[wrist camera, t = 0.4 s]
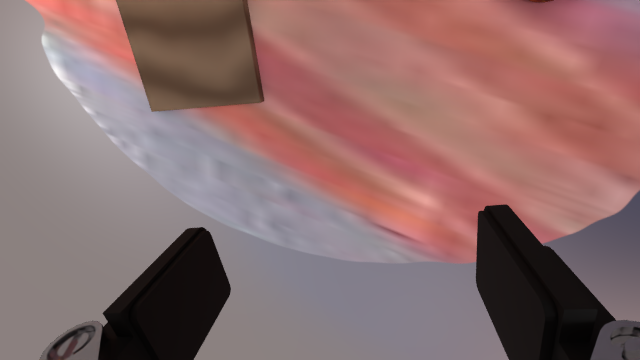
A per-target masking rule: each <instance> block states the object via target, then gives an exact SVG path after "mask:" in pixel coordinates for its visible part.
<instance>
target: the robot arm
mask: <svg viewBox="0 0 640 360" xmlns="http://www.w3.org/2000/svg"><path fill="white" fill-rule="evenodd" d="M476 283H477V288H478V291H479V293H480V295H481V298H482V300H483V302H484V304H485V306H486V309H487V311H488V313H489V316H490V318H491V320H492V322H493V325H494V327H495V329H496V331H497V334H498V336H499V338H500V340H501V343H502V345H503V347H504V350H505V352H506V354H507V356H508V358H509V360H640V322H636V321H628V320H619V321H616V320H615V318H614V317H613V316H612V315H611V314H610V313H609V312H608V311H607V310H606V309H605V307H604V306H603V305H602V304H601V303H600V302H599V301H598V300H597V298H596V297H595V296H594V295H593V294H592V293H591V292H590V291H589V289H588V288H587V287H586V286H585V285H584V284H583V283H582V282H581V281H580V279H579V278H578V277H577V276H576V275H575V274H574V273H573V272H572V271H571V269H570V268H569V267H568V266H567V265H566V264H565V263H564V262H563V260H562V259H561V258H560V257H559V256H558V255H557V254H556V253H555V252H554V250H552V249H551V248H550V247H548V246H543V245H542V244H541V243H540V242H539V241H538V239H537V238H536V237H535V236H534V235H533V234H532V232H531V231H530V230H529V229H528V228H527V227H526V226H525V224H524V223H523V222H522V221H521V220H520V219H519V217H518V216H517V215H516V214H515V213H514V212H513V211H512V209H511V208H510V207H509V206H508V205H493V206H486V207H485V209H484V211H479V213H478V232H477V262H476ZM230 290H231V288H230V284H229V281H228V278H227V276H226V273H225V271H224V268H223V265H222V263H221V260H220V257H219V254H218V252H217V249H216V247H215V244H214V242H213V239H212V236H211V234H210V232H209V231H206V229H205V228H203V227H200V228H189V229H187V230H185V231H184V232H183V234H181V235H180V236H179V237H178V238H177V239H176V240H175V241H174V242H173V243H172V244H171V245H170V246H169V247H168V248H167V249H166V250H165V251H164V252H163V253H162V254H161V255H160V256H159V257H158V258H157V259H156V260H155V261H154V262H153V263H152V264H151V265H150V266H149V267H148V268H147V269H146V270H145V271H144V272H143V273H142V274H141V275H140V276H139V277H138V278H137V279H136V280H135V281H134V282H133V283H132V284H131V285H130V286H129V287H128V288H127V290H125V291H124V292H123V293H122V294H121V295H120V297H118V298H117V299H116V300H115V302H114V303H112V304H111V305H110V306H109V308H107V309H106V311H104V312H103V315H104V316H105V318H106V319H107V321H108V323H107V324H106V325H105V326H104V327H103V325H102V324H101V323H100V322H98V321H89V322H85V323H82V324H79V325H77V326H75V327H73V328H71V329H69V330H67V331H66V332H65V333H63V334H62V335H60V336H59V337H57V338H56V339H55V340H54V341H53V342H52V343H50V345H49V346H48V347H47V348H46V349H45V351H44V352H43V353H42V355H41V357H40V360H194V358H195V356H196V354H197V352H198V350H199V349H200V347H201V345H202V344H203V342H204V340H205V338H206V336H207V335H208V333H209V331H210V329H211V327H212V326H213V324H214V322H215V320H216V319H217V317H218V315H219V313H220V311H221V310H222V308H223V306H224V304H225V302H226V301H227V299H228V297H229V295H230Z"/></svg>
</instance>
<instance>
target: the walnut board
mask: <svg viewBox="0 0 640 360" xmlns="http://www.w3.org/2000/svg"><path fill="white" fill-rule="evenodd" d="M116 2H117V5H118V8H119V11H120V14H121V17H122V20H123V23H124V27H125V30H126V33H127V36H128V39H129V42H130V45H131V48H132V51H133V55H134V58H135V61H136V64H137V67H138V70H139V73H140V76H141V79H142V83H143V86H144V89H145V92H146V95H147V98H148V101H149V104H150V108H151V111H152V112H153V111H165V110H177V109H189V108H201V107H213V106H225V105H237V104H249V103H260V102H262V101H264V97H263V91H262V85H261V79H260V73H259V68H258V62H257V56H256V50H255V44H254V38H253V33H252V27H251V21H250V15H249V9H248V3H247V0H116Z"/></svg>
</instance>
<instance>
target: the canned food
mask: <svg viewBox="0 0 640 360" xmlns="http://www.w3.org/2000/svg"><path fill="white" fill-rule="evenodd" d="M530 1H533V2H548V1H552V0H530Z"/></svg>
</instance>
